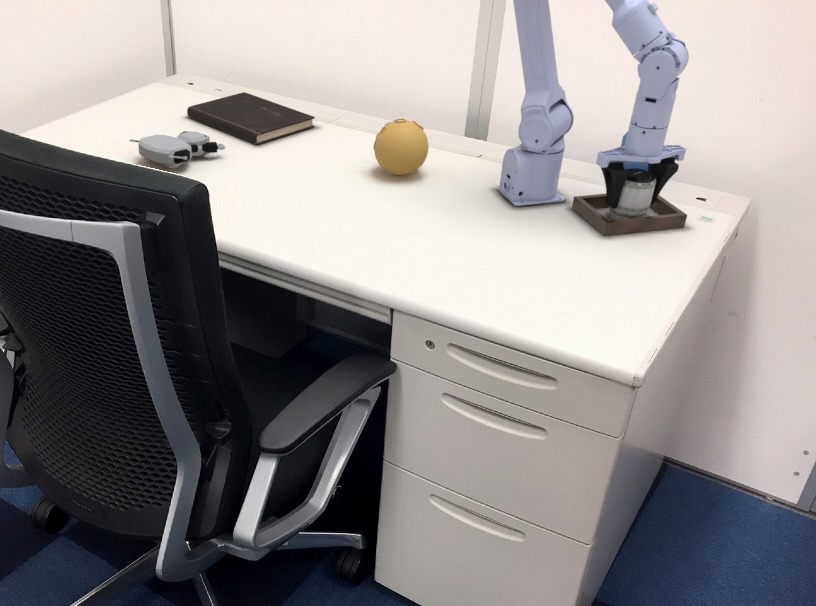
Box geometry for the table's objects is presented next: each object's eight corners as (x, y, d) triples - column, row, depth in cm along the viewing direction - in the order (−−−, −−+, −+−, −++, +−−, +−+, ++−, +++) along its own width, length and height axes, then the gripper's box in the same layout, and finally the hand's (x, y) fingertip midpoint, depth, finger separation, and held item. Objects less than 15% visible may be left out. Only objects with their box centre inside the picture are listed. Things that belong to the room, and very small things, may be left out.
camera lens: (599, 216, 143) (609, 171, 138) (622, 206, 146) (632, 162, 142) (631, 229, 139) (642, 183, 134) (654, 219, 142) (665, 174, 137)
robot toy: (188, 146, 172) (127, 160, 162) (188, 123, 169) (126, 136, 160) (229, 161, 165) (168, 177, 155) (229, 138, 162) (167, 153, 153)
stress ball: (437, 176, 157) (442, 122, 151) (394, 188, 153) (398, 133, 147) (403, 159, 164) (407, 107, 158) (362, 170, 159) (364, 117, 154)
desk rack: (603, 236, 137) (606, 223, 136) (571, 208, 146) (573, 196, 144) (684, 227, 140) (687, 214, 138) (647, 200, 148) (650, 188, 147)
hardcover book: (244, 102, 192) (244, 91, 191) (314, 127, 178) (314, 116, 177) (187, 117, 183) (186, 107, 182) (256, 145, 170) (255, 134, 168)
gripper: (620, 135, 129) (602, 218, 137) (705, 128, 131) (682, 210, 139) (597, 120, 134) (580, 200, 142) (679, 113, 137) (658, 193, 145)
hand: (629, 204), depth 141 cm, fingers closed on camera lens, 6 cm apart
